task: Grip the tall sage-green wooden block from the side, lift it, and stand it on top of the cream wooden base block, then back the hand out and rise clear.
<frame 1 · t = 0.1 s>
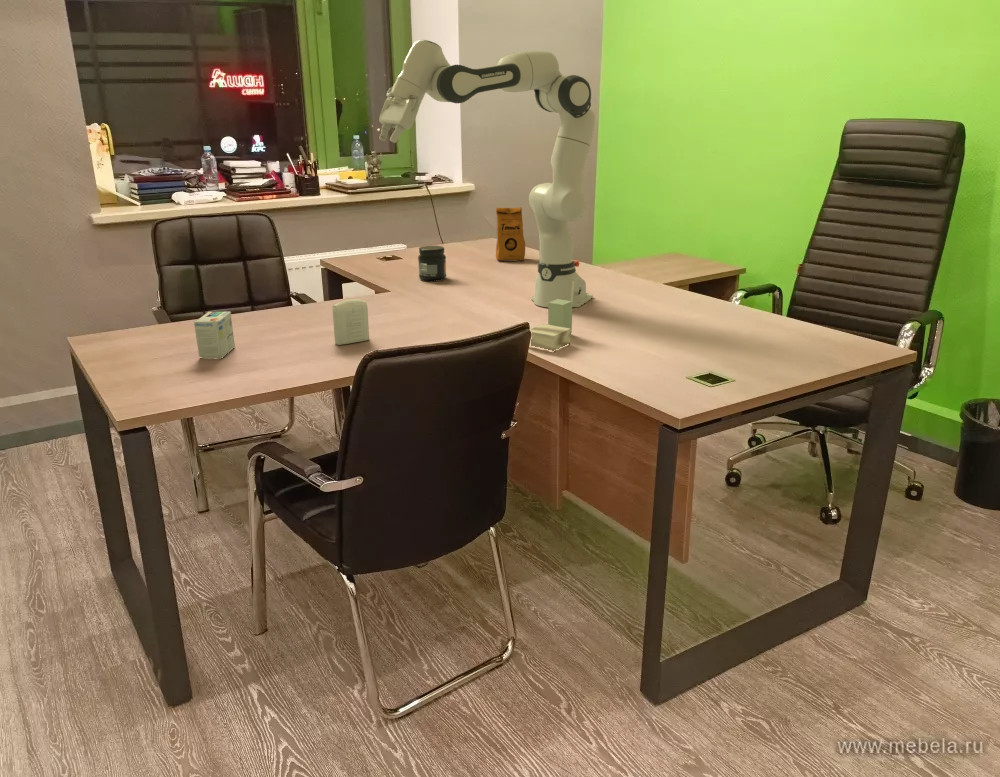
hand: (387, 141, 233), 54 cm above the table, tool tilted 30°, fingers open, 8 cm apart
photo printer: (352, 342, 235), on the table
green block: (559, 335, 239), on the table
supplement container: (432, 279, 311), on the table
coffee package: (510, 260, 344), on the table
light bulb box: (217, 354, 226), on the table
base block: (548, 346, 229), on the table
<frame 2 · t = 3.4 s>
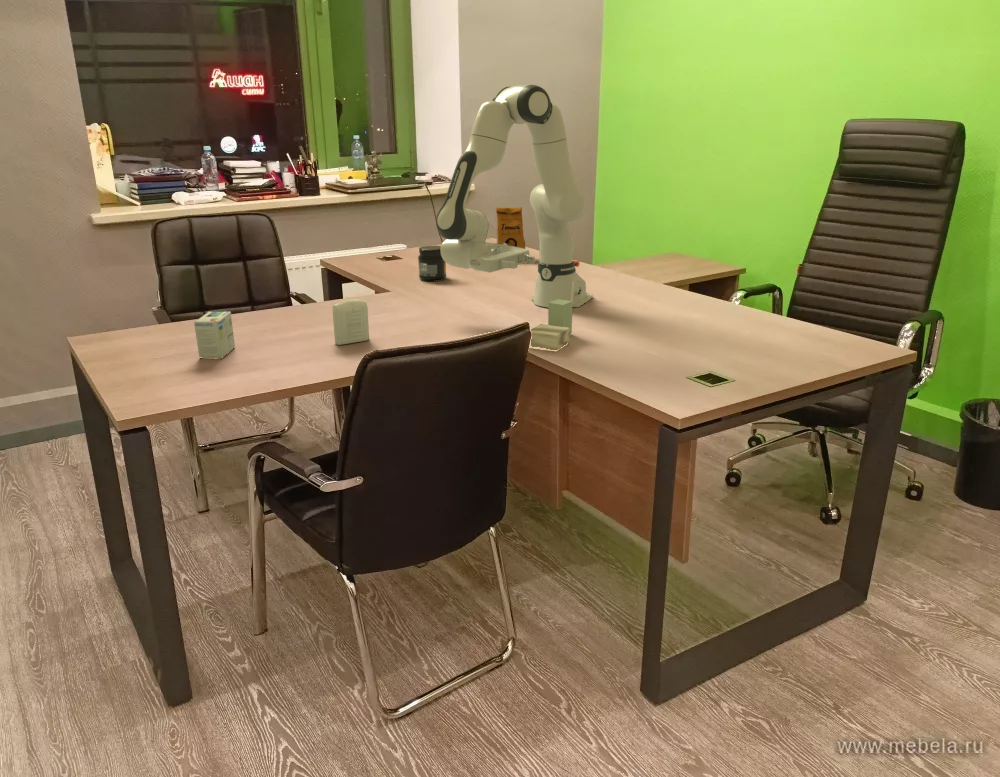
hand: (525, 262, 239), 20 cm above the table, tool horizontal, fingers open, 8 cm apart
nothing on the table moved.
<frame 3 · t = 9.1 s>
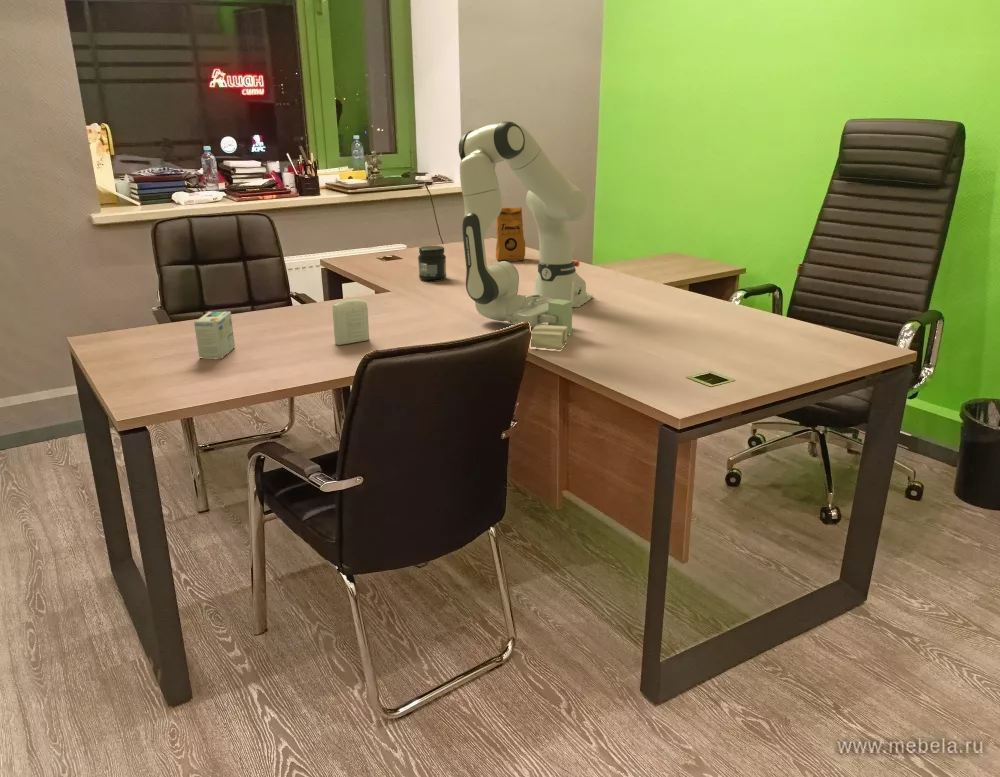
hand: (562, 317, 237), 6 cm above the table, tool horizontal, fingers closed on green block, 5 cm apart
green block: (559, 335, 239), on the table, touching gripper
when the fingers open (11 cm above the table, at t = 16.0 s): green block drops 1 cm, point 5 cm above the table.
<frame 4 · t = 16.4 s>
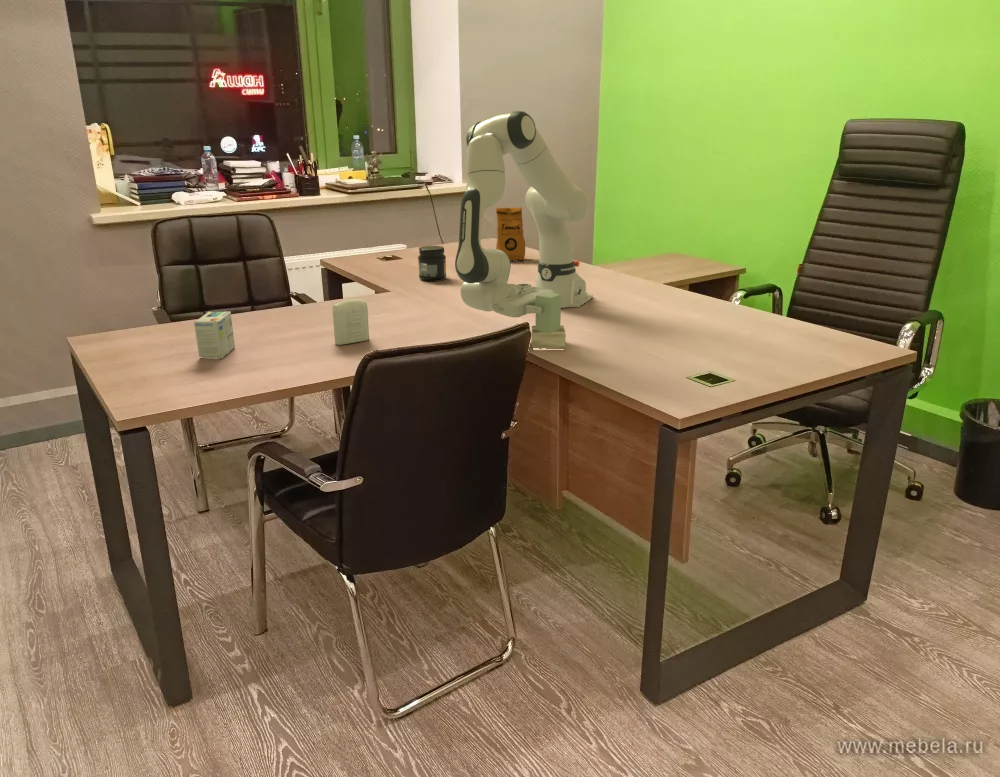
hand: (551, 306, 225), 11 cm above the table, tool horizontal, fingers open, 8 cm apart
green block: (547, 329, 228), point 5 cm above the table
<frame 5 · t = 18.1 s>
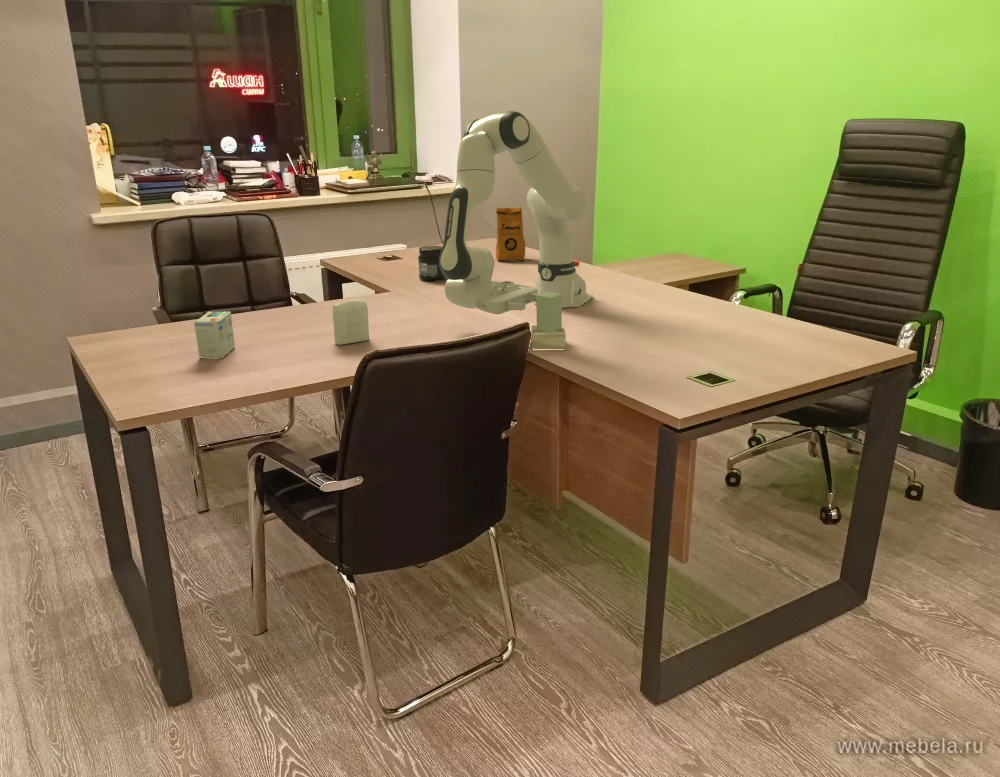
hand: (533, 303, 228), 11 cm above the table, tool horizontal, fingers open, 8 cm apart
nothing on the table moved.
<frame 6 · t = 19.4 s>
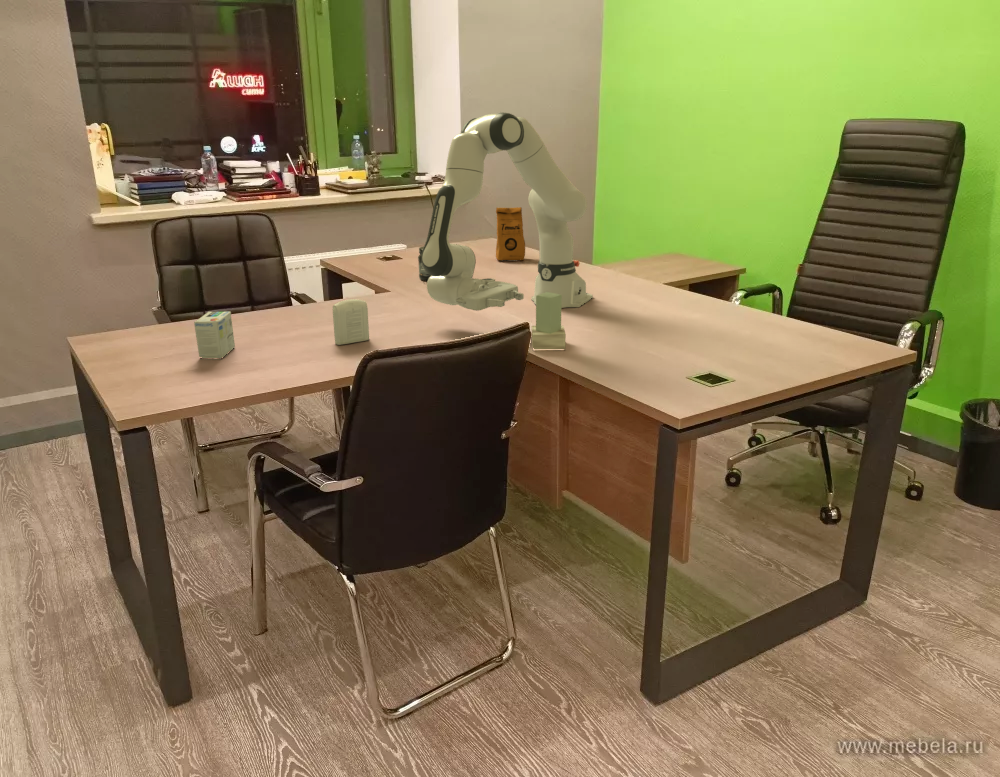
hand: (512, 300, 232), 11 cm above the table, tool horizontal, fingers open, 8 cm apart
green block: (548, 330, 227), point 5 cm above the table, touching base block
base block: (548, 347, 229), on the table, touching green block
everything else where it was.
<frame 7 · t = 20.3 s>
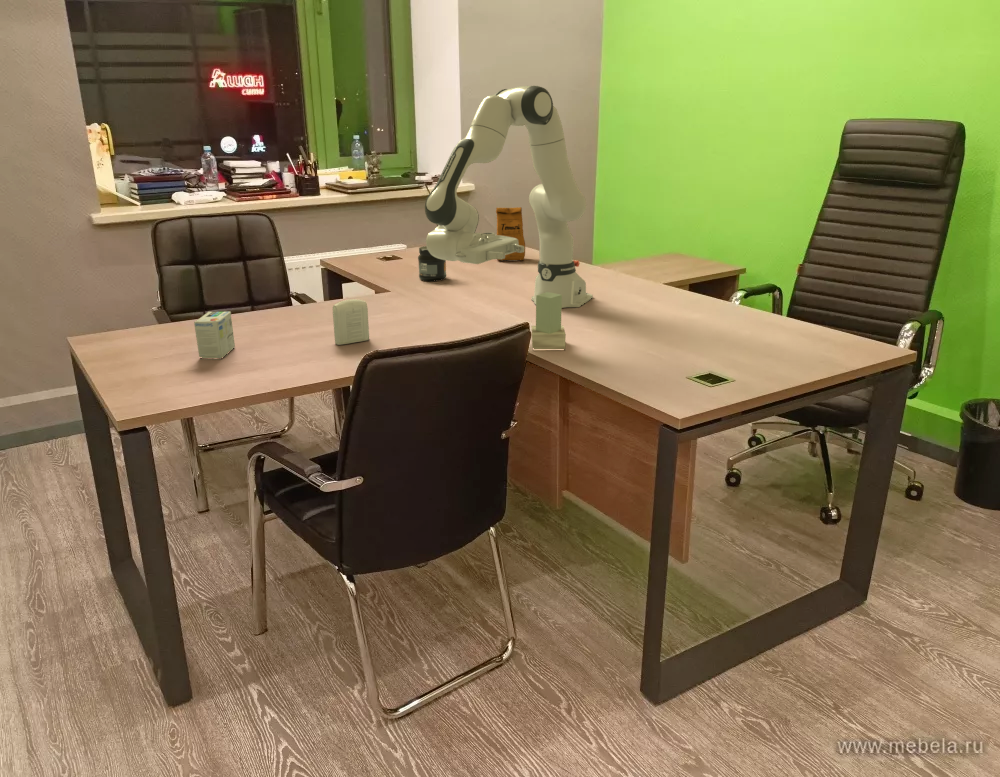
hand: (513, 252, 227), 25 cm above the table, tool horizontal, fingers open, 8 cm apart
green block: (548, 330, 227), point 5 cm above the table
base block: (548, 347, 229), on the table
everything else where it was.
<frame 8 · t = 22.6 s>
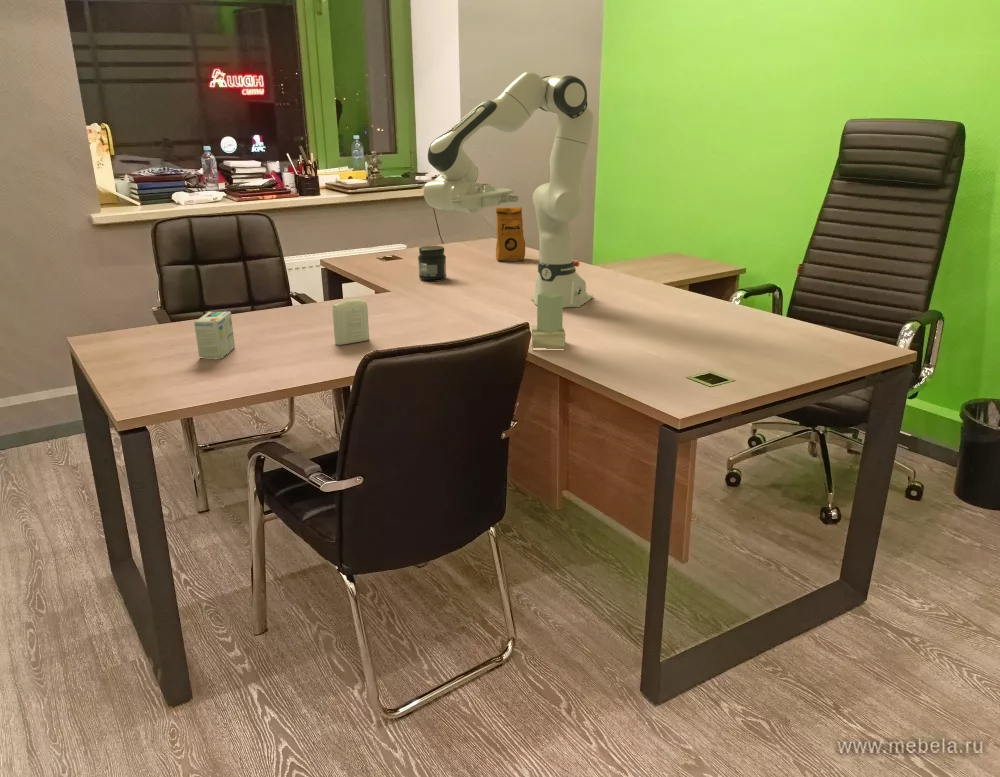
hand: (508, 200, 233), 38 cm above the table, tool horizontal, fingers open, 8 cm apart
nothing on the table moved.
at the end: green block 0.5 cm off-centre on the base block, point 5.0 cm above the base block's base; green block tilted 0°; the gripper is holding nothing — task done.
